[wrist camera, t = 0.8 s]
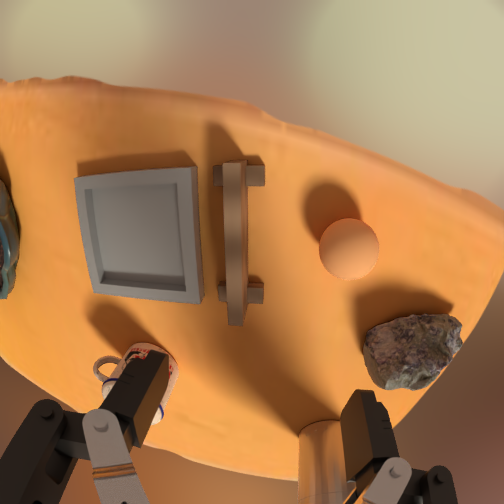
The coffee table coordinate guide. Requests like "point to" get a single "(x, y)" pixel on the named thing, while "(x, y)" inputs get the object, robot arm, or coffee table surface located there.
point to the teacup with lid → (132, 353)
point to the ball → (349, 249)
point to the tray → (142, 233)
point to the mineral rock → (411, 350)
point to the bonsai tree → (7, 243)
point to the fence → (237, 236)
